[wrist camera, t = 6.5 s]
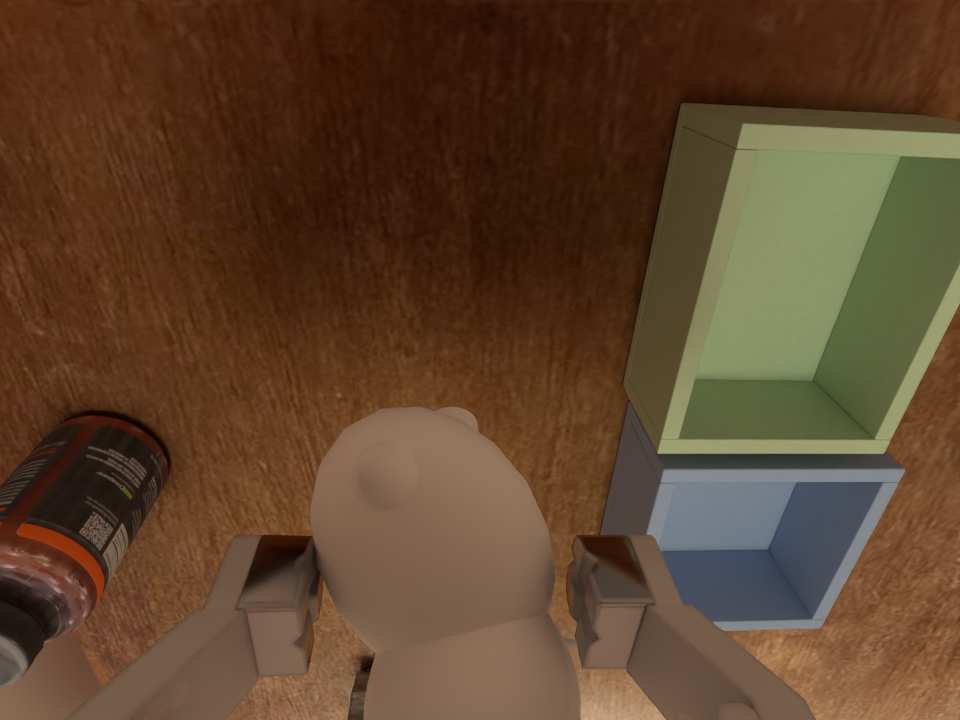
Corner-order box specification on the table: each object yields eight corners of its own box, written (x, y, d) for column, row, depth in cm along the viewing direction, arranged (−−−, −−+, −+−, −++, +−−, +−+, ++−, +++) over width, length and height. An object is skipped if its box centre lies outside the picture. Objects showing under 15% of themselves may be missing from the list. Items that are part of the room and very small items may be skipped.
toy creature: (405, 625, 15) (387, 949, 10) (270, 381, 12) (123, 696, 6) (573, 585, 15) (649, 899, 10) (494, 319, 11) (547, 595, 6)
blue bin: (628, 400, 31) (663, 469, 26) (835, 401, 32) (907, 469, 27) (595, 553, 37) (619, 633, 32) (771, 550, 38) (821, 628, 33)
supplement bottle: (34, 469, 31) (-153, 677, 21) (72, 389, 28) (-120, 581, 19) (148, 513, 33) (25, 723, 23) (191, 443, 30) (75, 641, 21)
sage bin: (680, 102, 24) (743, 123, 19) (924, 115, 25) (1044, 137, 20) (622, 385, 30) (657, 454, 26) (814, 387, 31) (884, 454, 26)
